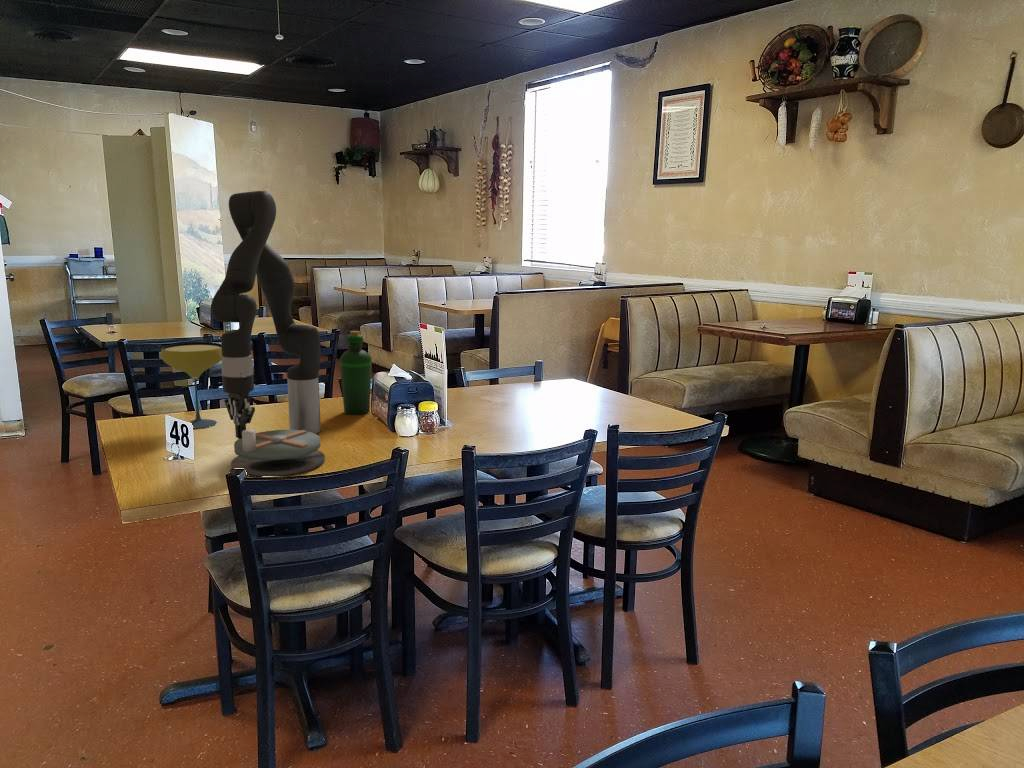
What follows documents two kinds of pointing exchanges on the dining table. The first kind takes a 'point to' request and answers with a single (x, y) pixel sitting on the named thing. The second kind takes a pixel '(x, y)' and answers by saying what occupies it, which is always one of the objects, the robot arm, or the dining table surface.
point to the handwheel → (276, 444)
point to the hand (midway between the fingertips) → (241, 437)
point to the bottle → (356, 376)
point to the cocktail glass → (193, 366)
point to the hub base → (280, 465)
